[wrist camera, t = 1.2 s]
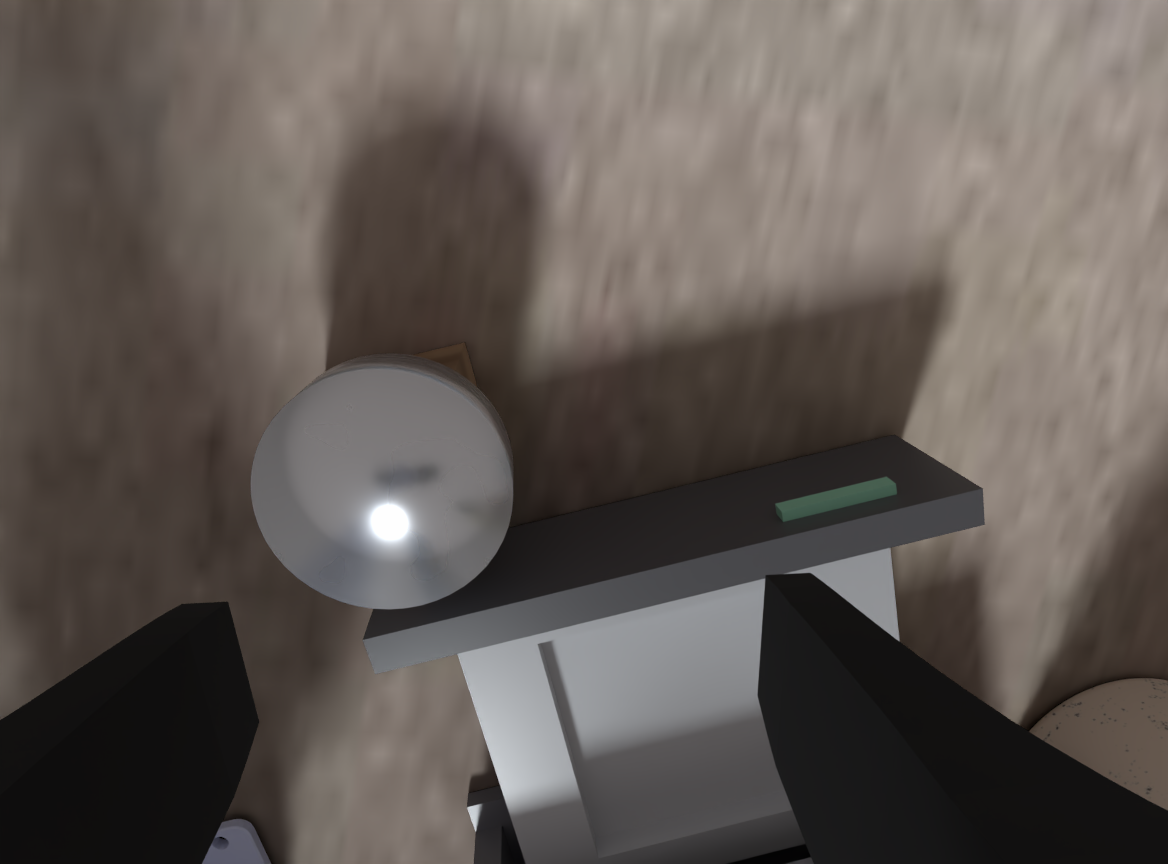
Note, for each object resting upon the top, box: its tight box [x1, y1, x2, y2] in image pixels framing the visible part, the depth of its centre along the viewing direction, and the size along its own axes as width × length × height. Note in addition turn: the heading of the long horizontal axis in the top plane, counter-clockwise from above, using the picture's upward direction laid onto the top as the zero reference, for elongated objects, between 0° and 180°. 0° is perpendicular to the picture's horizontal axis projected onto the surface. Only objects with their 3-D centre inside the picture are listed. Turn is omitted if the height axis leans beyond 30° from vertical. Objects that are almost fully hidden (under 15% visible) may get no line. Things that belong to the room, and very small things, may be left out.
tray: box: [363, 435, 985, 864], centre depth 22 cm, size 16×12×4 cm
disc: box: [251, 353, 514, 609], centre depth 17 cm, size 6×6×2 cm
